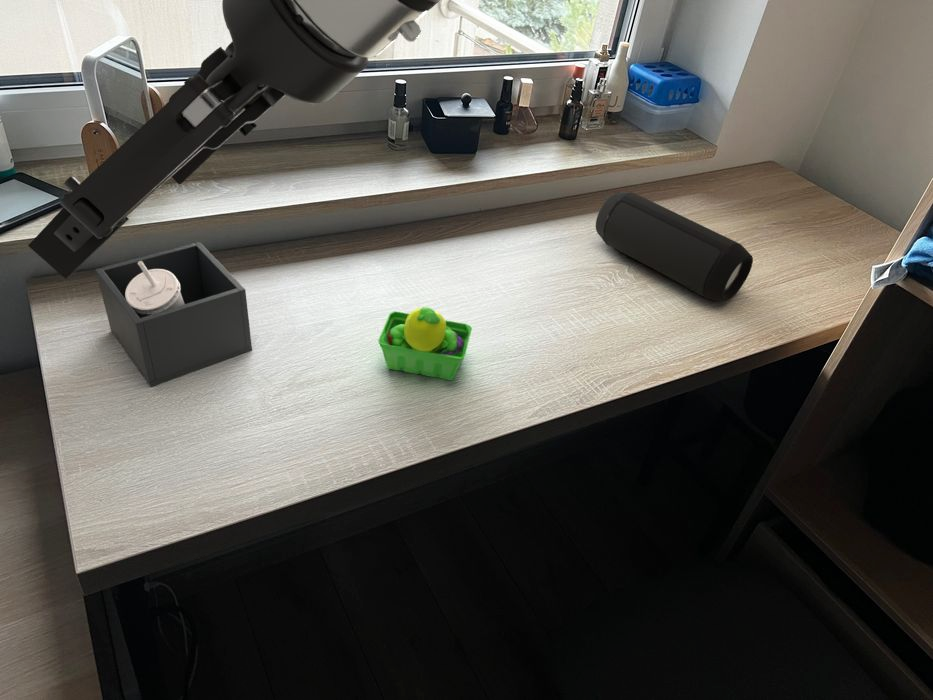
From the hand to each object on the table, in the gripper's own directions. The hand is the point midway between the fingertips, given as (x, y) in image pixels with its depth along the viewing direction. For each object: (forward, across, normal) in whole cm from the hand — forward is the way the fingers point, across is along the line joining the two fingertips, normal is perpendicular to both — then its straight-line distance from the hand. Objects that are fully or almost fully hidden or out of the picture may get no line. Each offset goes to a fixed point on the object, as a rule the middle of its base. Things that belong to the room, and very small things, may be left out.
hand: (115, 209), depth 49 cm
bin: (+39, +30, -14) cm, 51 cm away
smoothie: (+38, +30, -14) cm, 50 cm away
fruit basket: (+16, +35, -37) cm, 54 cm away
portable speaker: (-7, +72, -61) cm, 95 cm away
